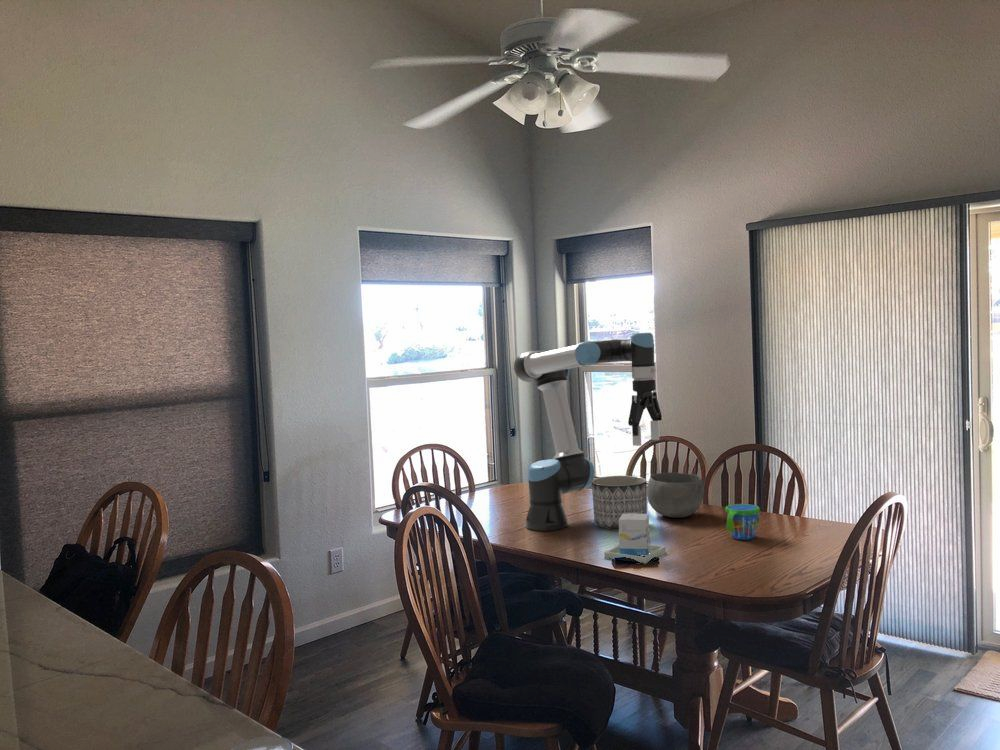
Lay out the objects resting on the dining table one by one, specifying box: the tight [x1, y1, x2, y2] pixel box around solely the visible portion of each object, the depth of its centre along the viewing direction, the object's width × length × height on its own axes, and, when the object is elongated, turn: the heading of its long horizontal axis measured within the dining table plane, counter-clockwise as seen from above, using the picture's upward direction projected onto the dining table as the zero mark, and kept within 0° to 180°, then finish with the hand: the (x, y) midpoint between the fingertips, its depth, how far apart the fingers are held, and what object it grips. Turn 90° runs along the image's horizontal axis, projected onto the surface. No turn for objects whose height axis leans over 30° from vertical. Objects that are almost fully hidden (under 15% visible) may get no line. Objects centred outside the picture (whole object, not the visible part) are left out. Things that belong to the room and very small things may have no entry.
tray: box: [603, 544, 667, 565], centre depth 255 cm, size 14×14×2 cm
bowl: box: [646, 472, 705, 519], centre depth 303 cm, size 20×20×15 cm
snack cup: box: [725, 503, 761, 541], centre depth 269 cm, size 16×10×10 cm
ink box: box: [618, 513, 651, 555], centre depth 255 cm, size 8×8×12 cm
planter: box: [591, 475, 648, 531], centre depth 292 cm, size 19×19×16 cm
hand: (646, 442), depth 275 cm, fingers open, 13 cm apart
